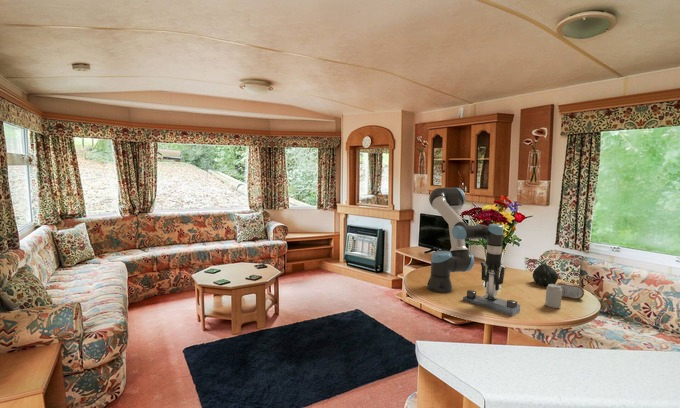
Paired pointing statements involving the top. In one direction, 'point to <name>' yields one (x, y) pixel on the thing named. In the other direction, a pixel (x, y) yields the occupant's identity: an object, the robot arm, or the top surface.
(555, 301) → the can
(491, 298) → the steel pin
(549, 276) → the squash
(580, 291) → the tin
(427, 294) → the top surface
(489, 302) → the plate with dome knobs
